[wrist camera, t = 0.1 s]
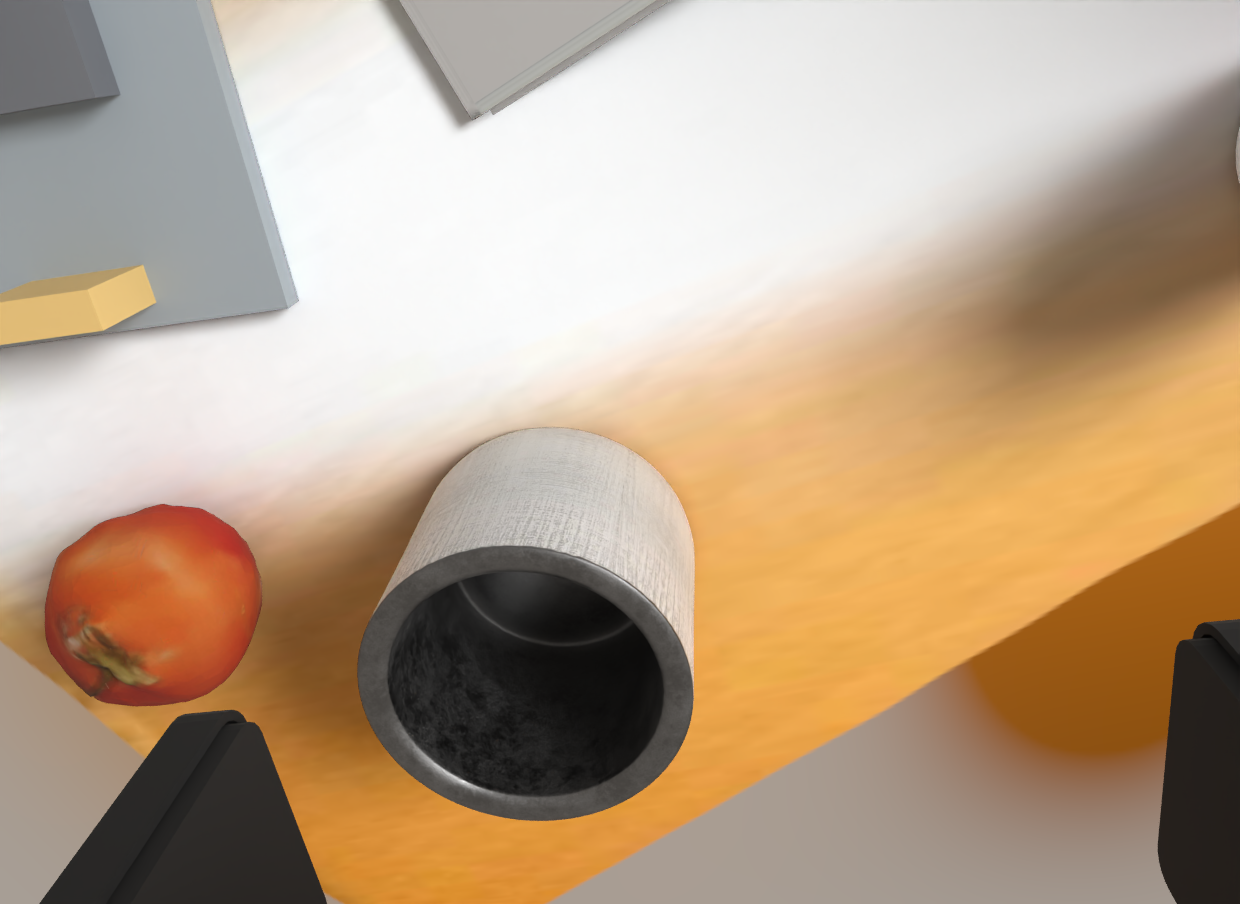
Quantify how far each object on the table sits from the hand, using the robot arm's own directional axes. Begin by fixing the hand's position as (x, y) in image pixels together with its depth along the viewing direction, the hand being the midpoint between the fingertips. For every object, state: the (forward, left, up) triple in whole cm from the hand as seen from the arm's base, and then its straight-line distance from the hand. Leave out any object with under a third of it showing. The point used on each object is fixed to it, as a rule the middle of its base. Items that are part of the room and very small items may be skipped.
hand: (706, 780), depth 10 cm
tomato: (+13, -26, -31) cm, 43 cm away
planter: (+14, -8, -31) cm, 35 cm away
